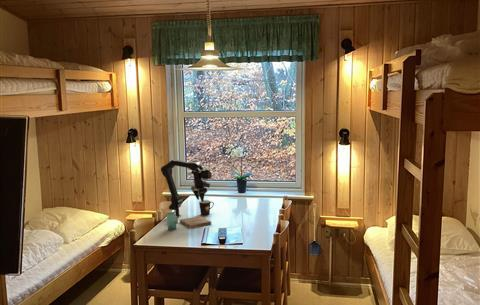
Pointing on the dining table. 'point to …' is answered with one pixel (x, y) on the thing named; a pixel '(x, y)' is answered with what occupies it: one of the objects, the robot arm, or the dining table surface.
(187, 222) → the walnut board
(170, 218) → the teal tin
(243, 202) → the dining table surface
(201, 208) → the coffee mug
